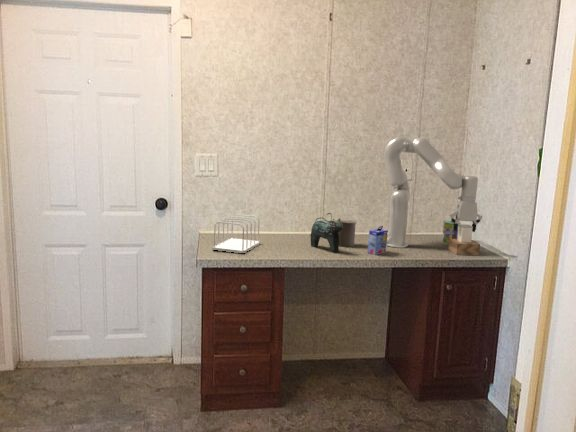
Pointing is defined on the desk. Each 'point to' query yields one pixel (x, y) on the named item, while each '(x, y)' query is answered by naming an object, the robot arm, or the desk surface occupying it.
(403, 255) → the desk surface
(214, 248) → the file sorter
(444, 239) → the chalk box
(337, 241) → the animal figurine
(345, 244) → the pillar candle
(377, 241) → the ink cartridge box
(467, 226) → the white rectangular block
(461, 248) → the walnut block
